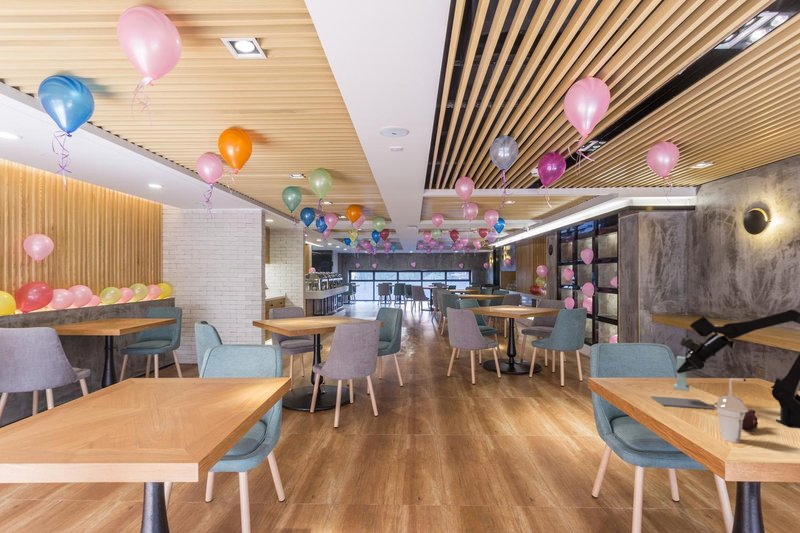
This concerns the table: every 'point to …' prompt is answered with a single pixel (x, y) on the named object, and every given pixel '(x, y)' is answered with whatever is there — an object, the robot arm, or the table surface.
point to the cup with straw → (731, 414)
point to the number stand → (681, 376)
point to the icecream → (749, 421)
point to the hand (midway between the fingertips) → (677, 371)
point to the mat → (682, 402)
